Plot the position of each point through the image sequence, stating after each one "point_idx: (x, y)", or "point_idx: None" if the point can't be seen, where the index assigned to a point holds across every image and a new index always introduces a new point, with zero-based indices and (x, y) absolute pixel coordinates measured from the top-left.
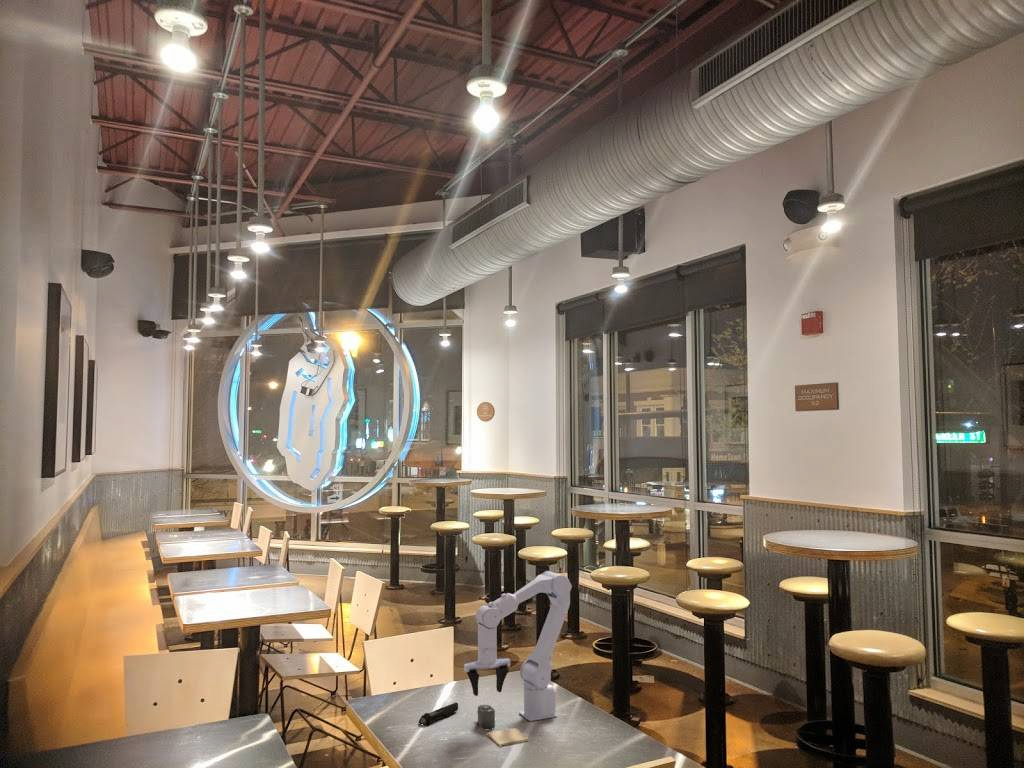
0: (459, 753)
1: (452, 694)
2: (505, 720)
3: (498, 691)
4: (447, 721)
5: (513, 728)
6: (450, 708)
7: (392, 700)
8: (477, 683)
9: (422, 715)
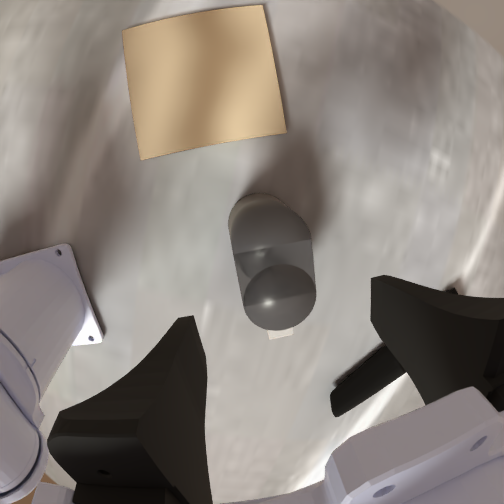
0: (411, 21)
1: (296, 479)
2: (166, 283)
3: (197, 330)
4: None
5: (151, 156)
6: (367, 381)
7: None
8: (434, 303)
9: None
